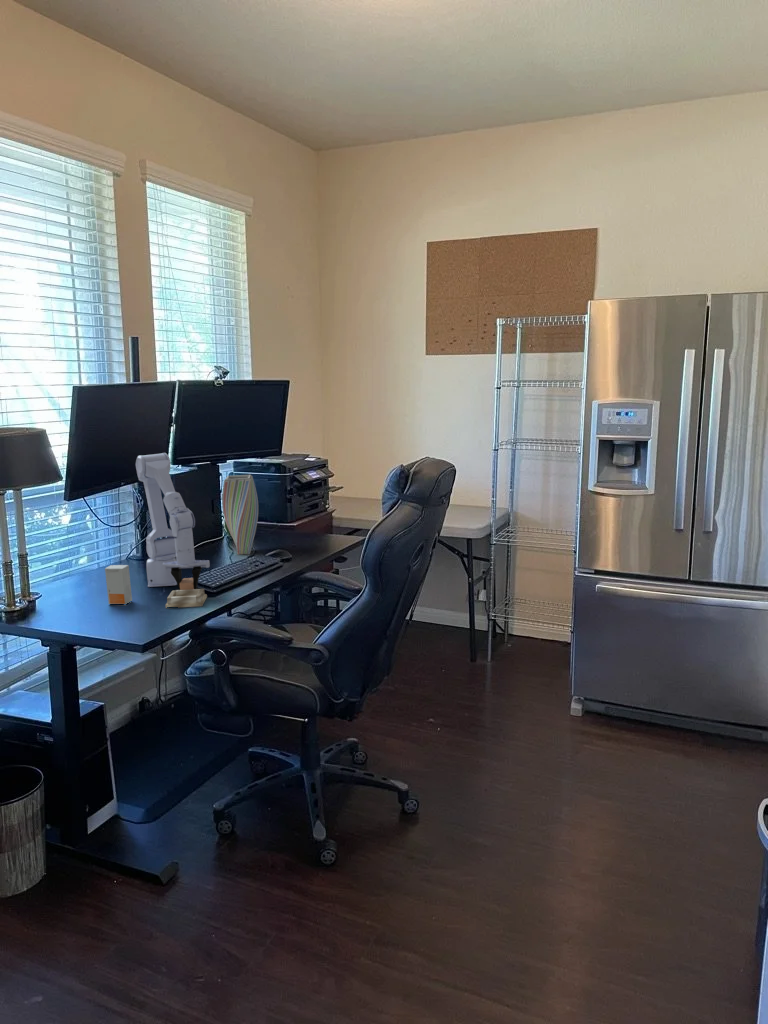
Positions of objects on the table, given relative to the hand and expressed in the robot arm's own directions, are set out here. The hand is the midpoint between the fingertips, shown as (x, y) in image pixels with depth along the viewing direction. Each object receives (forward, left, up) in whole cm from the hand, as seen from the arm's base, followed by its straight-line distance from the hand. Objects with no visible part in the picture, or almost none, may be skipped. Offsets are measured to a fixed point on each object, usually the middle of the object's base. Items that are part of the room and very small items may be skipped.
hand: (188, 589), depth 241 cm
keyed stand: (+1, -9, -1) cm, 9 cm away
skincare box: (-20, -6, -2) cm, 21 cm away
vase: (+12, +51, -2) cm, 52 cm away
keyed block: (0, 0, -1) cm, 1 cm away
